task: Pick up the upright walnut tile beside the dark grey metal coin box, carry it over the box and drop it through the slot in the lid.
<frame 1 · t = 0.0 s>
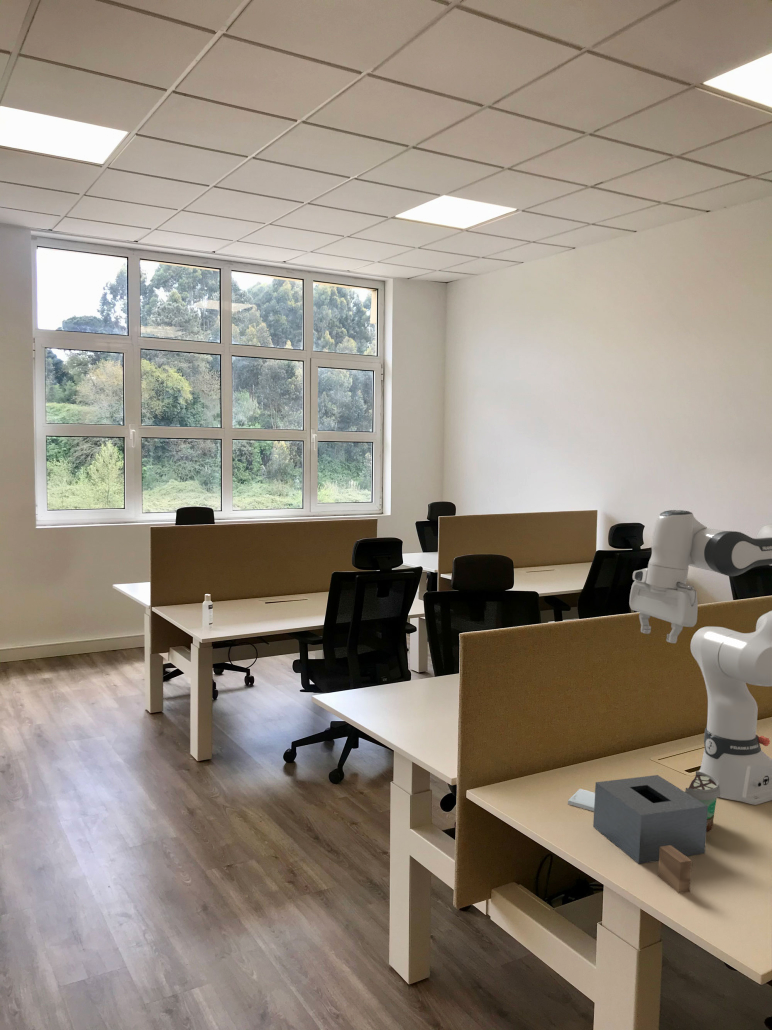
hand: (657, 637, 184), 39 cm above the table, tool pointing down, fingers open, 8 cm apart
food container: (702, 827, 174), on the table
walnut tile: (673, 884, 150), on the table
hard drive: (599, 808, 183), on the table
coin box: (647, 839, 167), on the table
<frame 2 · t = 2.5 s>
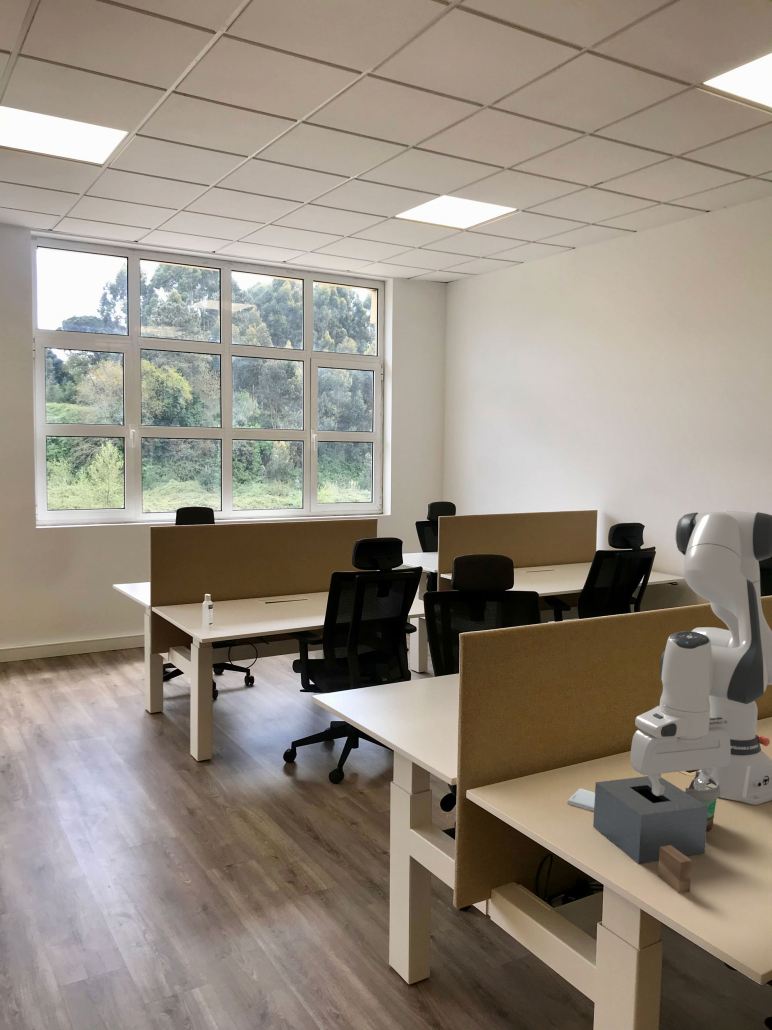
hand: (679, 791, 148), 18 cm above the table, tool pointing down, fingers open, 8 cm apart
nothing on the table moved.
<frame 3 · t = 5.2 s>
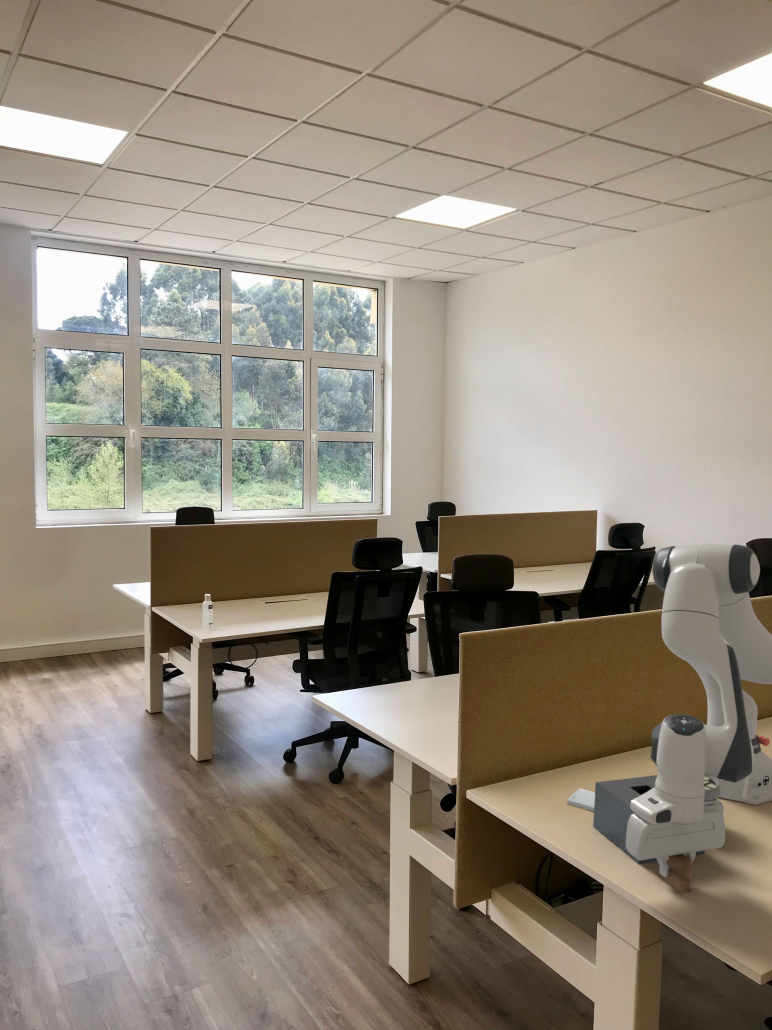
hand: (674, 873, 149), 2 cm above the table, tool pointing down, fingers closed on walnut tile, 2 cm apart
walnut tile: (673, 883, 150), on the table, touching gripper
everything else where it was.
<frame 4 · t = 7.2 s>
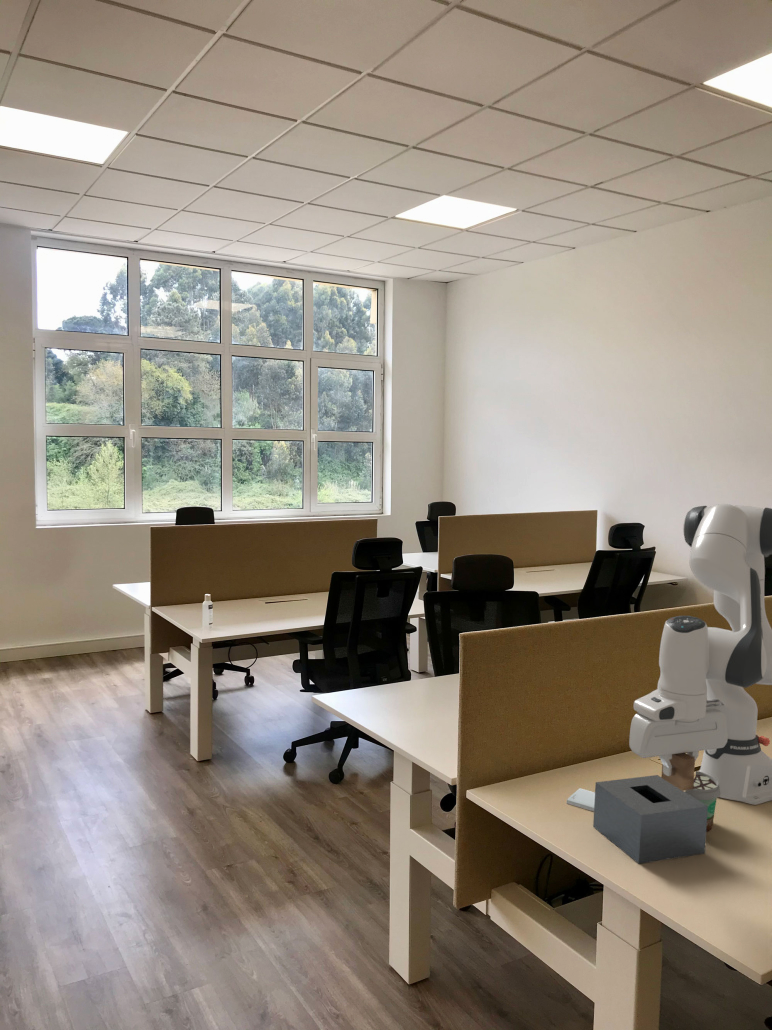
hand: (677, 773, 151), 20 cm above the table, tool pointing down, fingers closed on walnut tile, 2 cm apart
walnut tile: (677, 783, 151), point 18 cm above the table, touching gripper
everything else where it was.
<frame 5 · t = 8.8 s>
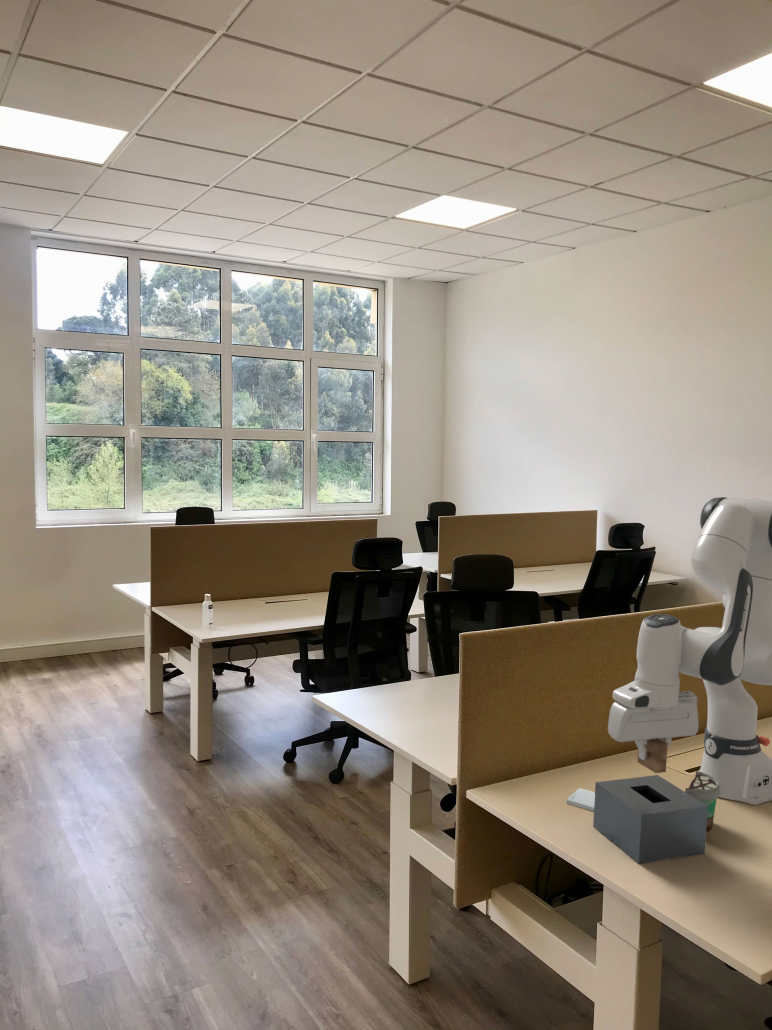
hand: (651, 758, 165), 18 cm above the table, tool pointing down, fingers closed on walnut tile, 2 cm apart
walnut tile: (651, 767, 165), point 16 cm above the table, touching gripper
everything else where it was.
when the fingers open (13 cm above the table, at t = 9.7 s): walnut tile drops 10 cm, resting on coin box.
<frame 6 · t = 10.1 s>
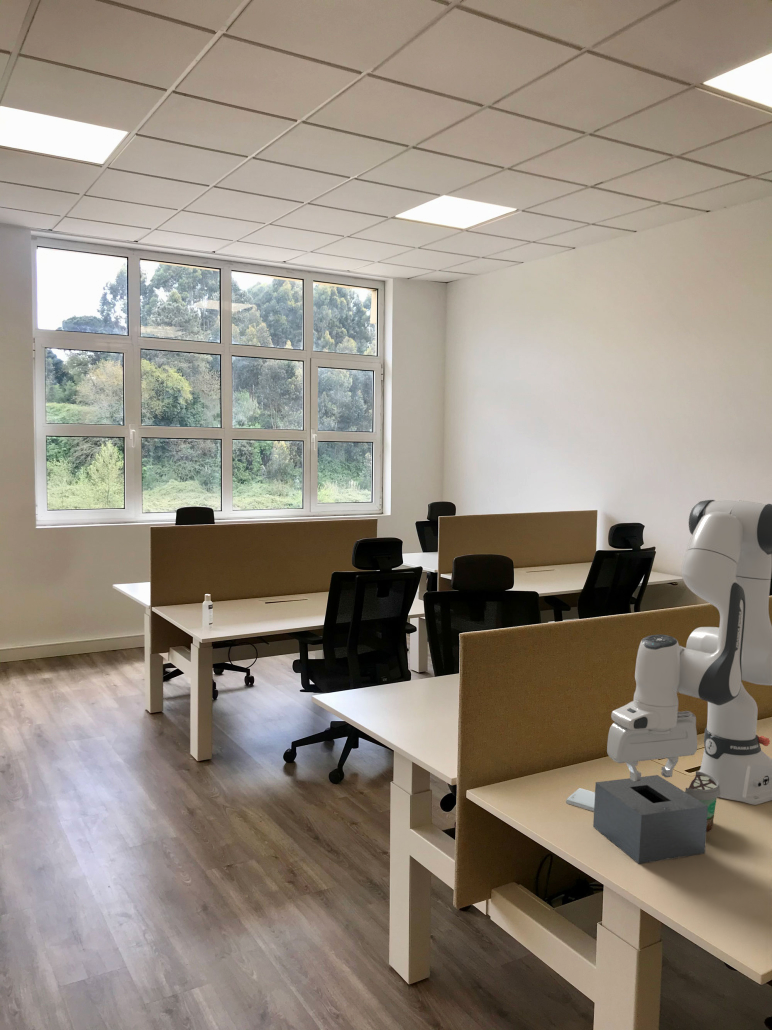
hand: (651, 778, 166), 13 cm above the table, tool pointing down, fingers open, 6 cm apart
walnut tile: (648, 834, 167), point 1 cm above the table, touching coin box
everything else where it was.
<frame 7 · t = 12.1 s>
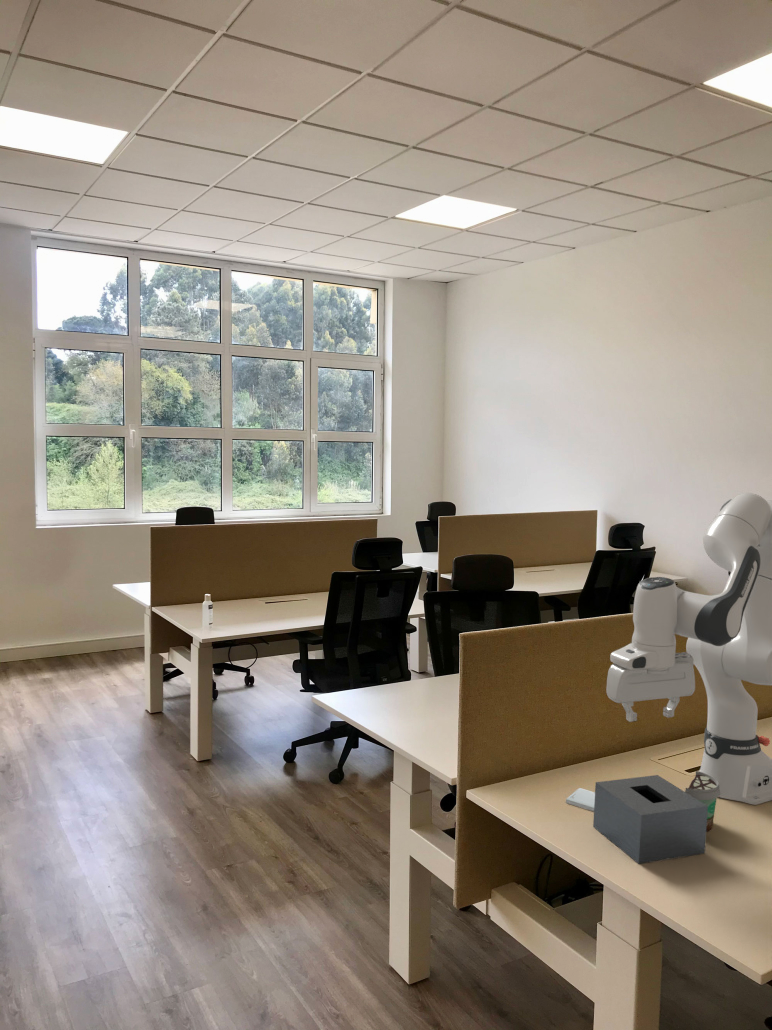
hand: (650, 718, 168), 25 cm above the table, tool pointing down, fingers open, 8 cm apart
nothing on the table moved.
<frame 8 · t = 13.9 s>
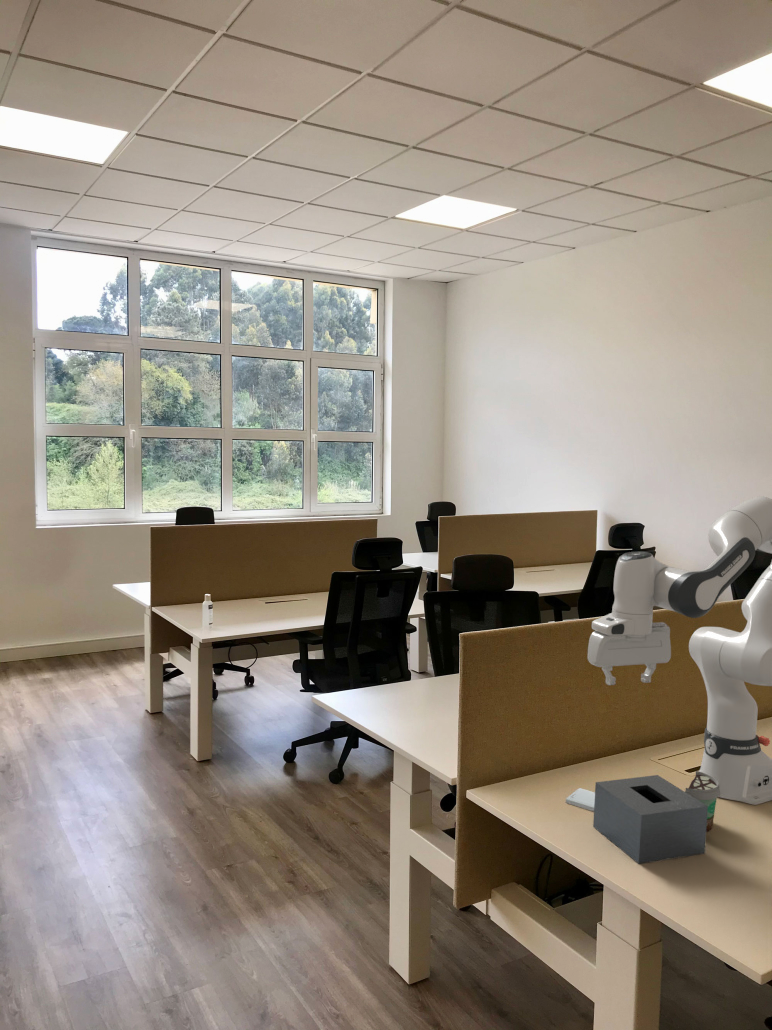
hand: (628, 683, 180), 29 cm above the table, tool pointing down, fingers open, 8 cm apart
nothing on the table moved.
at the end: walnut tile inside the target area on the coin box (0.1 cm from its centre), point 1.0 cm above the coin box's base; the gripper is holding nothing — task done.
